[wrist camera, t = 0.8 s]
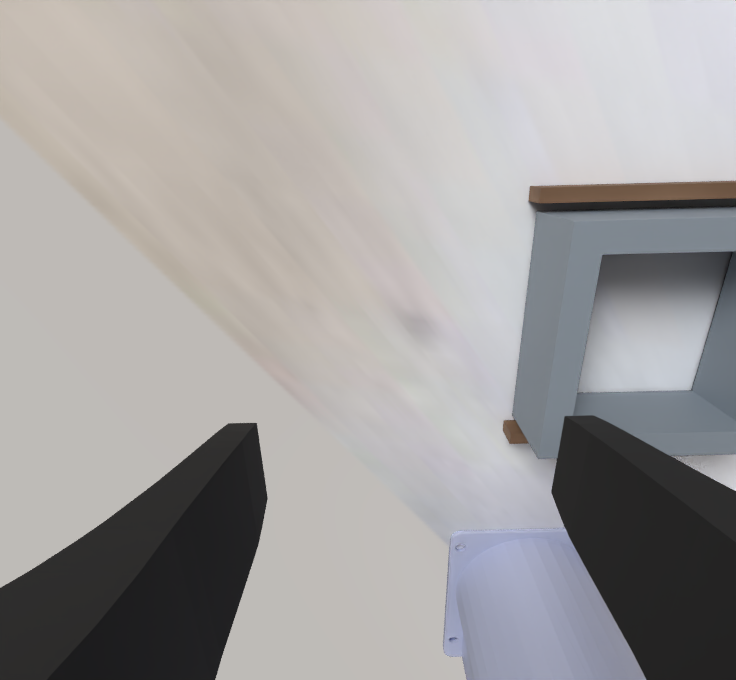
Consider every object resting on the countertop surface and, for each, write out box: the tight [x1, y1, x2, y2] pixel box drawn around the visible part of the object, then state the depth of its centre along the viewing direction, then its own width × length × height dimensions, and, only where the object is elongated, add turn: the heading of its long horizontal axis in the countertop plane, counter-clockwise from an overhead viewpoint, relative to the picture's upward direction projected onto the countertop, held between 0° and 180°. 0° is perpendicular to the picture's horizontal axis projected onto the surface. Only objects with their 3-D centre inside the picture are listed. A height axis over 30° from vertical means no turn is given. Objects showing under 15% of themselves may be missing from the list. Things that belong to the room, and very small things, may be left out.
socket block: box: [512, 206, 736, 459], centre depth 16 cm, size 8×8×3 cm
